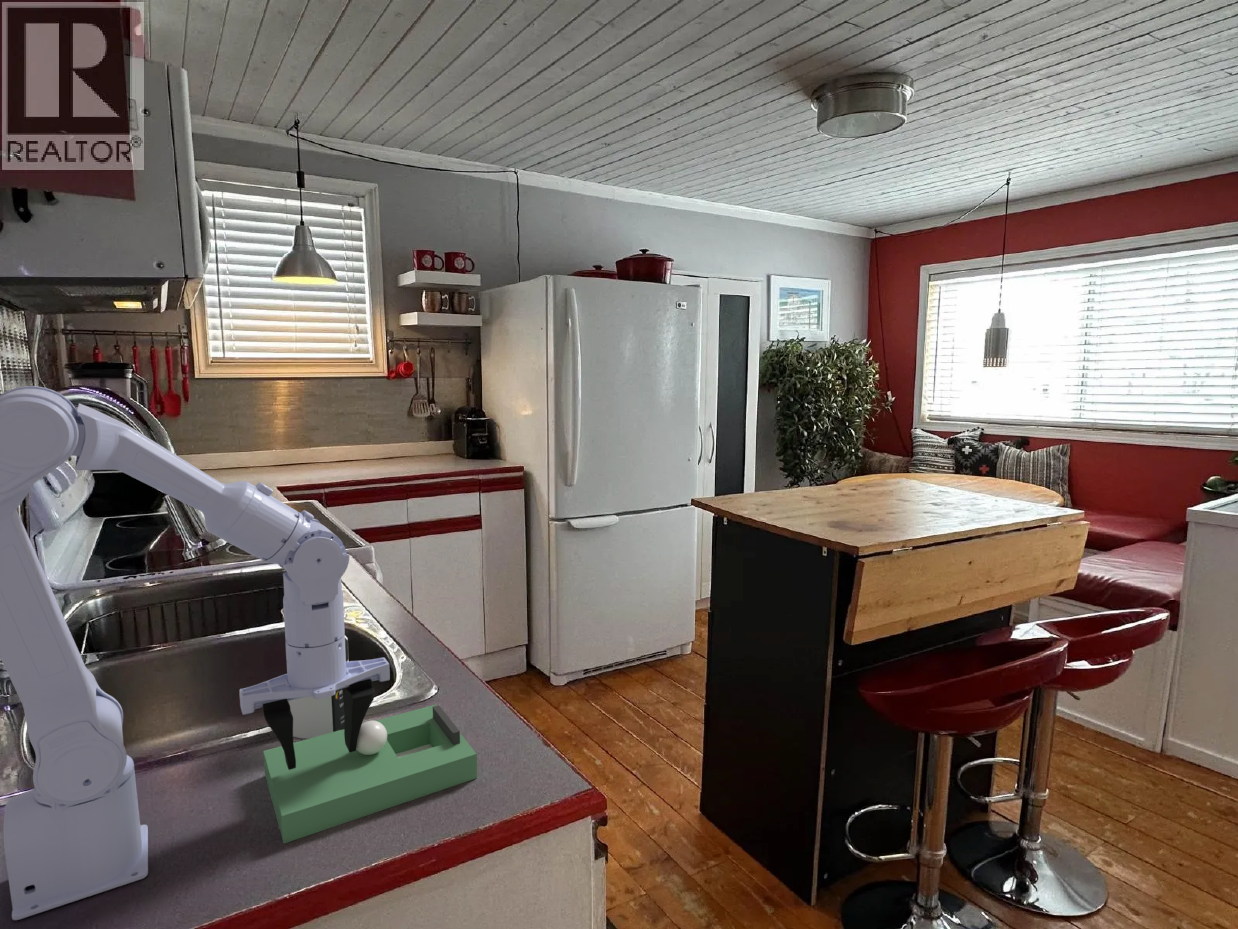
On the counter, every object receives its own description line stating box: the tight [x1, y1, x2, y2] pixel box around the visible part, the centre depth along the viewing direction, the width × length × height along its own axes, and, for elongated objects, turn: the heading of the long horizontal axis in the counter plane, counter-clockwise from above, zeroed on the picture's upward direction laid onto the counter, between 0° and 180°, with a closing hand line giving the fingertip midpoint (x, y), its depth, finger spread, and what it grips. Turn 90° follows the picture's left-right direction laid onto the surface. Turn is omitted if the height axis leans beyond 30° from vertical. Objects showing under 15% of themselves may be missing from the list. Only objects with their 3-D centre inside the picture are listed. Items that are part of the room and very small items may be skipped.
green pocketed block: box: [262, 704, 478, 844], centre depth 79 cm, size 20×13×4 cm, turn 124°
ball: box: [356, 720, 387, 755], centre depth 79 cm, size 4×4×4 cm
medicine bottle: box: [288, 635, 349, 740], centre depth 89 cm, size 7×7×12 cm
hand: (321, 755), depth 76 cm, fingers open, 5 cm apart
